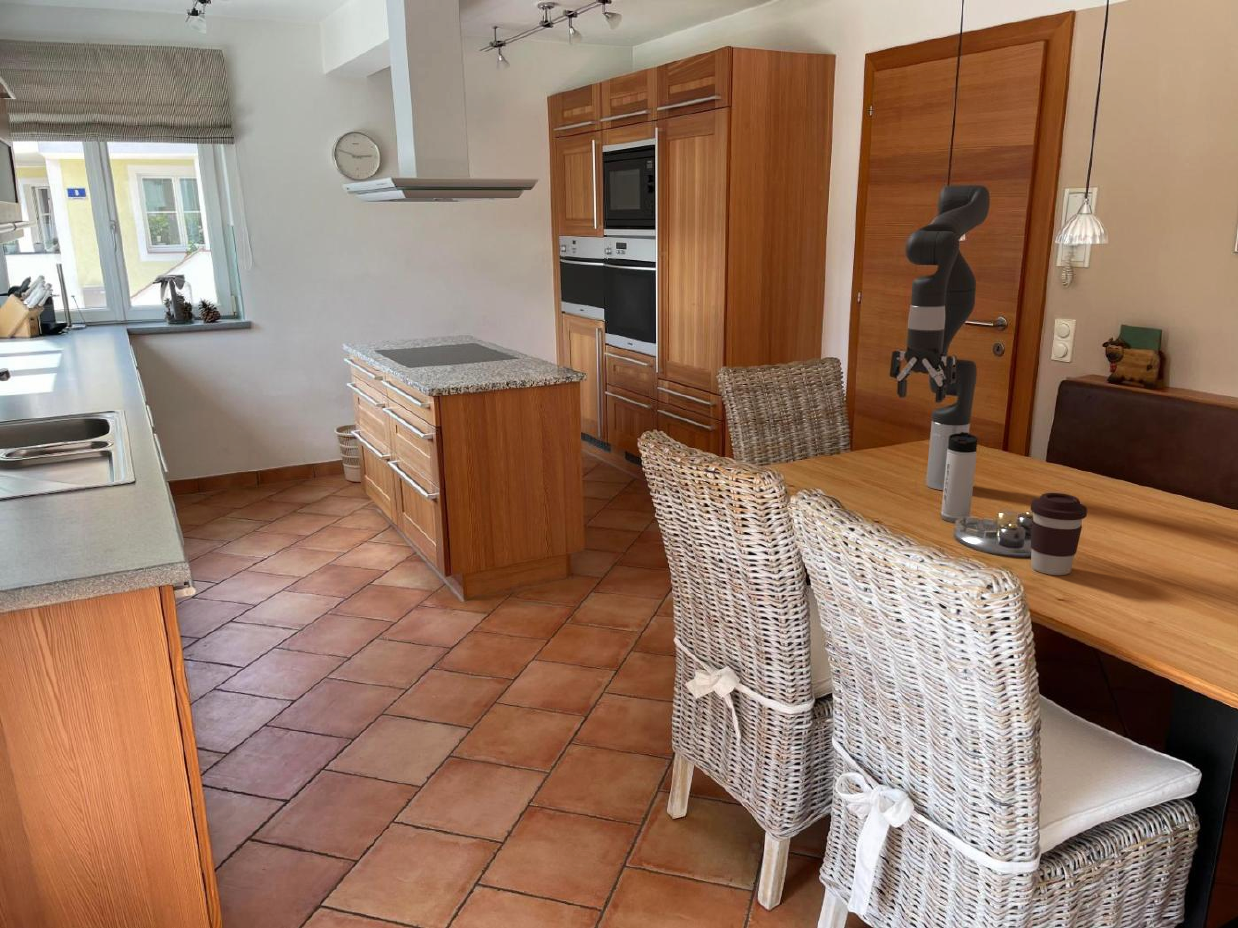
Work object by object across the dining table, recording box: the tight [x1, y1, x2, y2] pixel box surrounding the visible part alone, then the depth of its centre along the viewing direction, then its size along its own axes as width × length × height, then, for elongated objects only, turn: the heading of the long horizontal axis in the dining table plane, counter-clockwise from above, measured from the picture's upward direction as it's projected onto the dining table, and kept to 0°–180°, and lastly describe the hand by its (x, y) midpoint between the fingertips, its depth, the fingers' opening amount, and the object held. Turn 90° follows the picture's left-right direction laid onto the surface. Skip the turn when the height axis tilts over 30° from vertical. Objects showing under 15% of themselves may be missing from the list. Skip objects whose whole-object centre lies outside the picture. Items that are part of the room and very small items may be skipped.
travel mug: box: [940, 432, 979, 524], centre depth 207 cm, size 6×7×20 cm
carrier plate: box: [953, 509, 1033, 559], centre depth 195 cm, size 21×21×6 cm
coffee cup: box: [1030, 492, 1088, 576], centre depth 177 cm, size 10×10×15 cm
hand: (920, 399), depth 199 cm, fingers open, 8 cm apart
